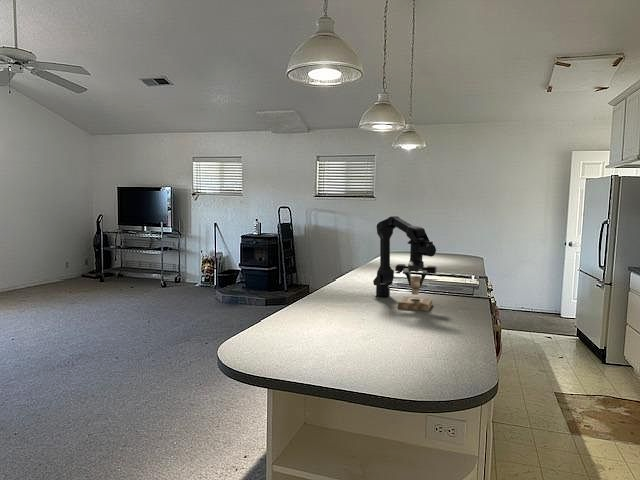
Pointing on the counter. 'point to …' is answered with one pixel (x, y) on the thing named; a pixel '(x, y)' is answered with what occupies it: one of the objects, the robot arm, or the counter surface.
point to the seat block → (415, 303)
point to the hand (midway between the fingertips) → (415, 286)
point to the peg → (415, 284)
